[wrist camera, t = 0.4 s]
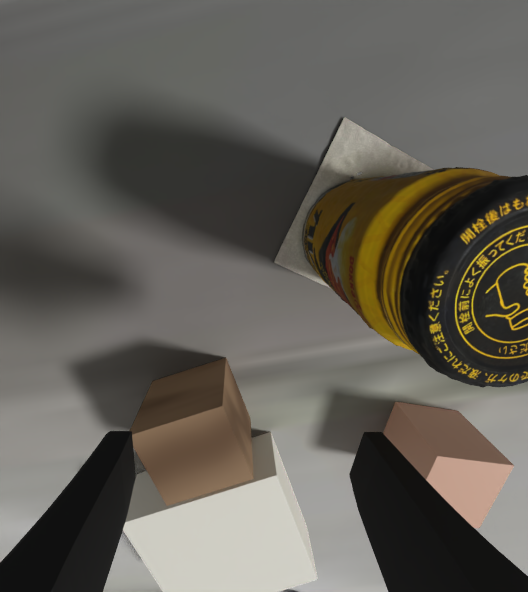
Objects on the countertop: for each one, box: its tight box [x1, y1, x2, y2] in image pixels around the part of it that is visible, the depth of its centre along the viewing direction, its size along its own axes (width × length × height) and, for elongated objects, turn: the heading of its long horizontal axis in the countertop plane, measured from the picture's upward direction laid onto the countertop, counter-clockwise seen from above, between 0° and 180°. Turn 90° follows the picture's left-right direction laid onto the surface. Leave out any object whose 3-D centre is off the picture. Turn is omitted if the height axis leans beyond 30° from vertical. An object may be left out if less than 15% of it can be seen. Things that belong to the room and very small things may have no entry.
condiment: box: [274, 117, 528, 387], centre depth 13 cm, size 7×8×12 cm
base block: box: [123, 432, 318, 592], centre depth 22 cm, size 10×10×4 cm
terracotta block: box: [383, 402, 514, 528], centre depth 21 cm, size 5×5×5 cm
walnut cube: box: [130, 358, 254, 506], centre depth 19 cm, size 5×5×5 cm
